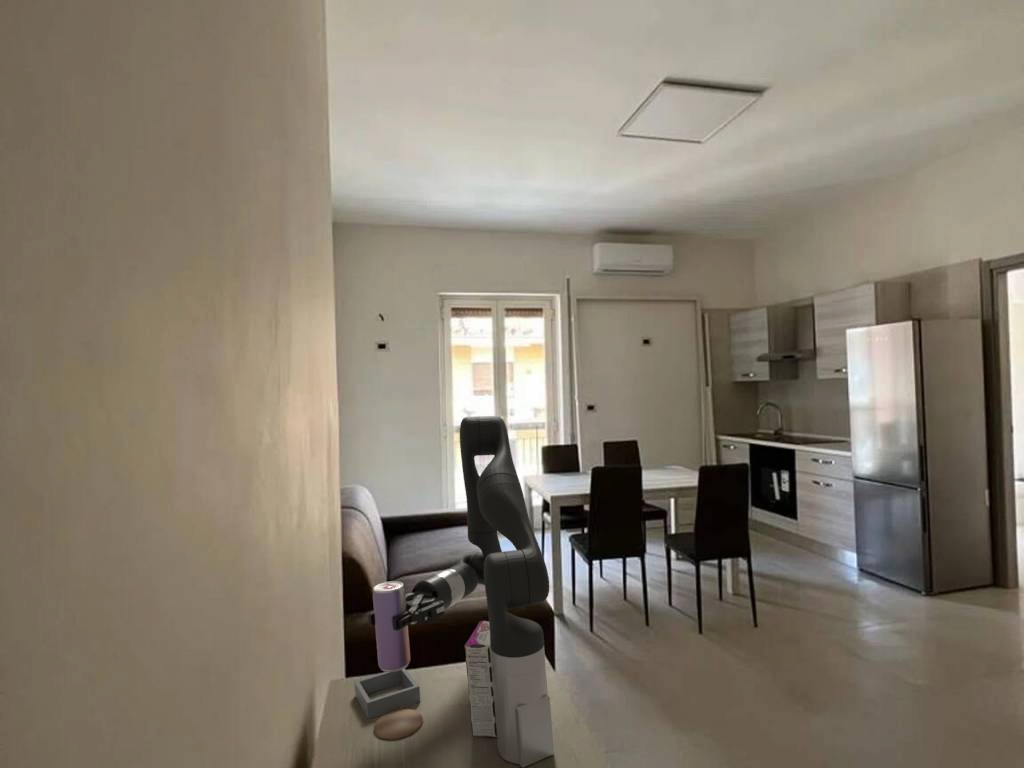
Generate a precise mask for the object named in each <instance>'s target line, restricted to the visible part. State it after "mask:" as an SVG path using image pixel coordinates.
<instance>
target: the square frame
mask: <svg viewBox="0 0 1024 768" xmlns="http://www.w3.org/2000/svg"><path fill="white" fill-rule="evenodd" d="M400 684H402V686H403V687H404V689H403V688H402V689H400V690H398V691H394V692H391V693H389V694H388V693H387V694H386V695H385V694H384V695H382V696H378V697H376V698H372V699H370V697H369V696H368V694H372V693H375V692H379V691H382V690H384V689H385V690H386V689H388V688H391V687H394V686H397V685H400ZM420 690H421V689H420V685H419V684H418V682H417V681H415V679H414V678H413V677H412V675H411V674H410V673H409V672H408V671H407V669H406V667H405V668H404V669H402V670H399V671H396V672H385V671H383V672H381V673H378V674H374V675H371V676H368V677H365V678H361V679H358V680H354V692H355V693H354V695H355V698H356V699H357V701H358V703H359V705H360V707H361V709H362V710H363V712H364V715H365V716H366V718H367V719H368V720H369V719H372V718H375V717H378V716H381V715H383V714H384V715H385V714H387V713H389V712H392V711H396V710H400V709H401V708H405V707H408V706H412V705H413V704H416V703H419V702H421V693H420V692H421V691H420Z"/></svg>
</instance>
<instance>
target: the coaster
mask: <svg viewBox="0 0 1024 768" xmlns="http://www.w3.org/2000/svg"><path fill="white" fill-rule="evenodd" d="M423 722H424V719H423V715H422V714H421V712H419V711H417V710H415V709H408V708H404V709H396V710H393V711H390V712H387V713H384V715H383V714H382V716H381V717H379V718H378V719H377V720H376V721H375V723H374V725H373V732H374V734H375V736H377V737H378V738H381V739H383V740H399V739H403V738H406V737H409V736H411V735H413V734H415V733H416V732H417V731H418V730H420V728H421V727H422V726H423Z"/></svg>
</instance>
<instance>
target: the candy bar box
mask: <svg viewBox="0 0 1024 768" xmlns="http://www.w3.org/2000/svg"><path fill="white" fill-rule="evenodd" d="M464 653H465V654H464V655H465V666H466V676H467V678H466V679H467V686H468V699H469V708H470V709H469V711H470V723H471V724H470V725H471V736H473V737H478V738H497V728H496V716H495V702H494V688H493V674H492V659H491V645H490V628H489V620H488V621H487V620H480V621H478V624H477V626H476V628H475V629H474V631H473V632H472V634H471V635H470V637H469V638H468V640H467V642H466V643H465V644H464Z"/></svg>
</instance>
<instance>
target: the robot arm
mask: <svg viewBox="0 0 1024 768" xmlns="http://www.w3.org/2000/svg"><path fill="white" fill-rule="evenodd" d="M459 425H460V426H459V445H460V446H459V448H460V457H461V467H462V476H463V483H464V490H465V497H466V509H467V511H466V512H467V516H466V517H467V520H466V521H467V539H468V541H469V543H470V544H472V545H474V546H476V547H477V548H479V549H480V550H481V552H480V551H471V552H470V551H469V552H467V553H465V554H464V555H463V556H462V557H461V558H460V559H459V560H458V561H457V563H456V564H455V565H453V566H451V567H449V568H447V569H445V570H440V571H438V572H435V573H434V574H432V575H429V576H428V577H425V578H424V579H421V580H419V581H418V582H417V583H416V584H414V586H413V588H412V590H411V592H409V593H405V599H406V611H407V612H404V613H403V614H401V615H399V616H397V617H395V618H394V619H393V630H396V631H398V630H400V629H402V628H403V627H405V626H407V625H408V626H409V625H415V624H417V622H418V624H419V625H425V624H427V623H429V622H431V621H433V620H435V619H437V618H440V617H442V616H444V615H445V611H446V610H448V609H449V608H451V607H452V606H454V605H455V604H457V603H458V602H459V601H460V600H463V599H464V598H465V597H468V596H469V595H470V594H472V593H473V592H474V591H476V588H477V586H478V584H479V585H481V586H482V585H484V590H485V596H486V604H487V612H488V621H489V628H490V645H491V659H492V674H493V688H494V702H495V716H496V728H497V737H496V738H497V739H496V741H497V751H498V754H499V756H500V757H501V758H502V759H503V760H505V761H507V762H509V763H511V764H517V765H519V766H520V767H521V768H525V767H528V766H530V765H532V764H535V763H537V762H540V761H541V760H544V759H546V758H548V757H551V756H553V755H554V754H555V749H554V735H553V722H552V721H553V720H552V719H553V718H552V708H551V698H550V695H549V693H548V681H547V680H548V679H547V669H546V668H547V666H546V653H545V638H544V631H543V630H544V629H543V628H542V626H541V625H540V624H539V623H538V622H536V621H534V620H531V619H527V618H524V617H519V616H516V615H514V614H512V613H510V612H509V611H507V610H508V609H512V608H517V607H518V608H519V607H526V606H532V605H533V606H535V605H538V604H540V603H544V602H545V601H546V600H547V599H548V597H549V594H550V577H549V574H548V573H549V572H548V569H547V565H546V562H545V559H544V555H543V553H542V551H541V547H540V545H539V543H538V540H537V538H536V537H537V536H536V535H535V532H534V530H533V527H532V524H531V520H530V517H529V514H528V509H527V505H526V501H525V495H524V492H523V489H522V486H521V481H520V479H519V477H518V473H517V470H516V468H515V464H514V463H515V462H514V460H513V456H512V450H511V449H512V448H511V444H510V439H509V434H508V433H509V432H508V429H507V425H506V422H505V421H504V419H503V418H502V417H500V416H497V415H495V416H494V415H486V416H485V415H484V416H483V415H480V416H479V415H477V416H466V417H465V416H464V417H463V418H462V419H461V421H460V424H459ZM477 456H493V458H492V459H491V461H490V462H488V464H487V465H486V467H484V469H483V471H482V472H481V474H479V473H478V470H477V466H476V461H475V457H477ZM498 533H499V534H501V535H502V536H503V537H504V538H506V539H507V540H508V541H509V542H510V543H511V544H512V545H513V547H514V548H515V550H506V551H502V548H501V544H500V539H499V537H498V536H499V535H498ZM367 617H368V625H369V626H372V627H373V626H375V617H374V611H372V612H370V613H369V614H368V616H367Z"/></svg>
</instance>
